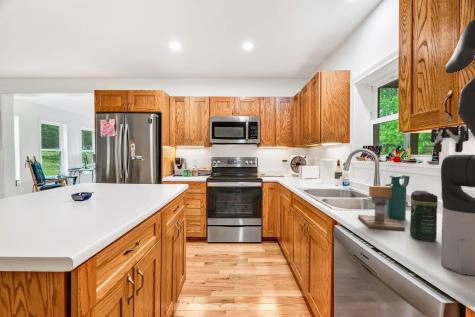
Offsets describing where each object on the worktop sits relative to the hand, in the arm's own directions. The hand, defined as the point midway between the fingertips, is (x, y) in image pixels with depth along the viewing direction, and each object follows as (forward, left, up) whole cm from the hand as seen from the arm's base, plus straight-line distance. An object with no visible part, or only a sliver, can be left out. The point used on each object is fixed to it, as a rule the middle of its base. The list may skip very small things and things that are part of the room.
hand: (448, 152), depth 103 cm
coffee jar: (-9, +13, -34) cm, 38 cm away
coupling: (+8, +23, -24) cm, 34 cm away
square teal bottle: (+23, +10, -34) cm, 43 cm away
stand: (+8, +23, -34) cm, 42 cm away
